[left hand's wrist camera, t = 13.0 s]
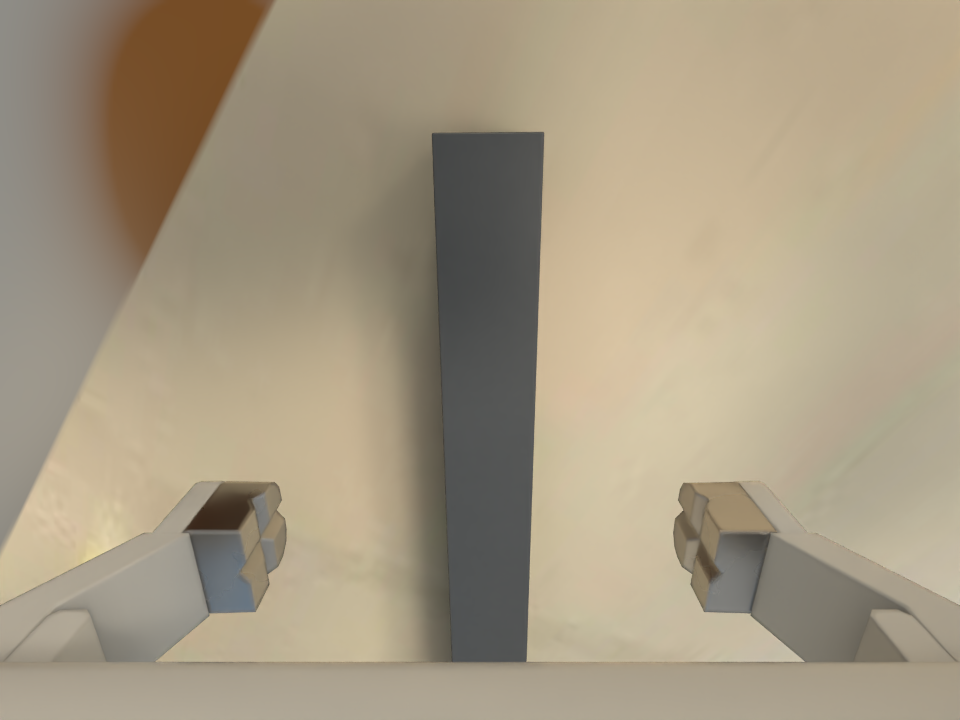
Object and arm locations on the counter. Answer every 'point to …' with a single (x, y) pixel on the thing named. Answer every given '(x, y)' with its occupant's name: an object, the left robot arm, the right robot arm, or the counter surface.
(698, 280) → the counter surface
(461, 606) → the bar
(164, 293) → the counter surface
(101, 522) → the counter surface
